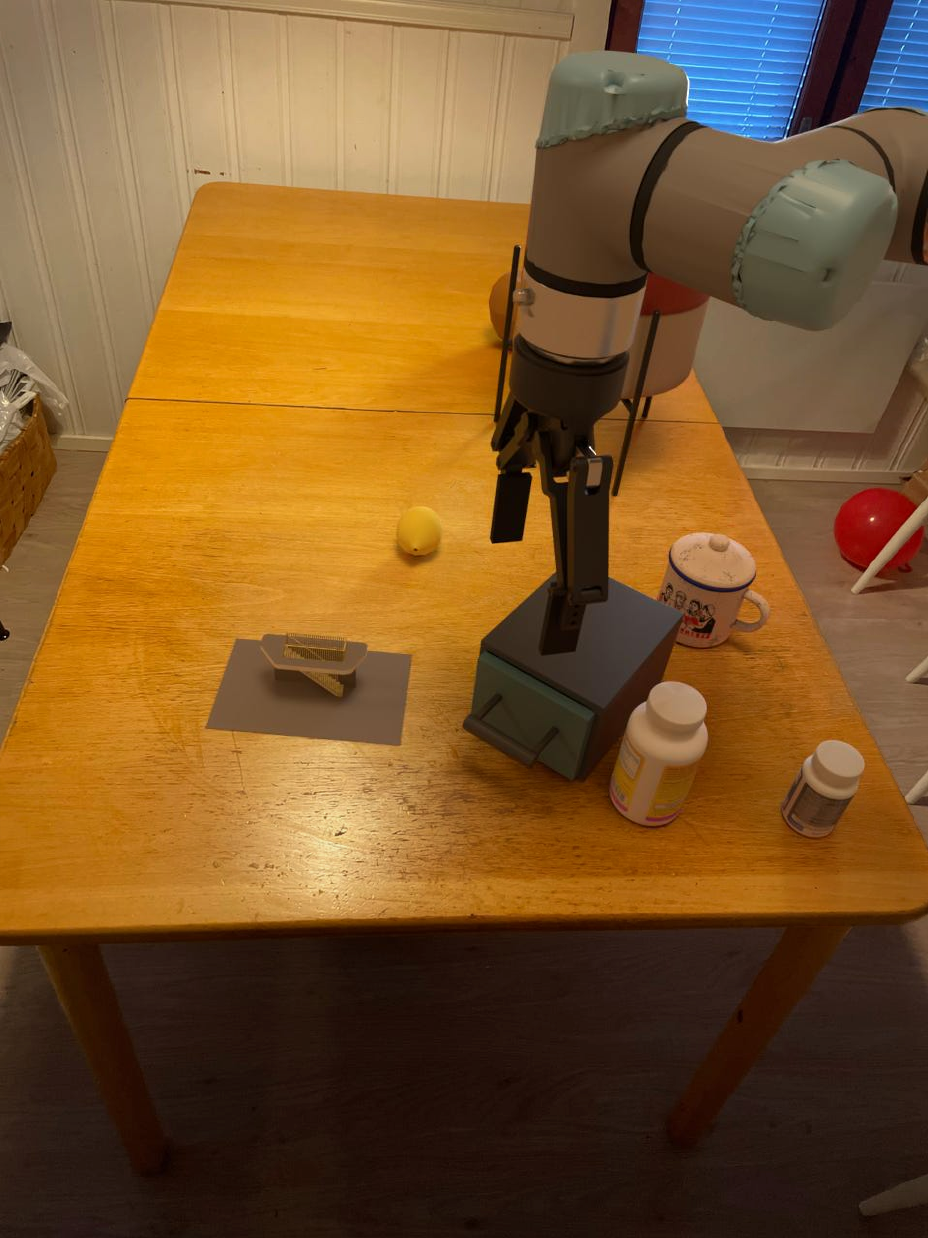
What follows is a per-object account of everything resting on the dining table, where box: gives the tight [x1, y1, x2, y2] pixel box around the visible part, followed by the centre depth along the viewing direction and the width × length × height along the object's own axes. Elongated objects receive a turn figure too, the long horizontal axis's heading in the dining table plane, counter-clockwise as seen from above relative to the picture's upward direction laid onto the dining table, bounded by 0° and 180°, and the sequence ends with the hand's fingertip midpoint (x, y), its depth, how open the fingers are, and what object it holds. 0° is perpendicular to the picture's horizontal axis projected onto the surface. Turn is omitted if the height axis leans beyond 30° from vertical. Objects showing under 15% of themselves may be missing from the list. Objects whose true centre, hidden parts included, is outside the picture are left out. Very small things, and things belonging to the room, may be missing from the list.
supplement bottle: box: [608, 680, 709, 827], centre depth 75 cm, size 7×7×13 cm
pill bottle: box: [781, 739, 866, 838], centre depth 76 cm, size 5×5×8 cm
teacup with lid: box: [656, 532, 771, 648], centre depth 93 cm, size 12×9×12 cm
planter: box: [493, 180, 711, 497], centre depth 112 cm, size 24×25×35 cm
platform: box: [204, 631, 413, 746], centre depth 83 cm, size 12×18×7 cm, turn 87°
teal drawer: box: [461, 651, 595, 782], centre depth 81 cm, size 20×11×8 cm, turn 144°
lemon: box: [395, 505, 444, 556], centre depth 101 cm, size 7×5×5 cm
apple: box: [488, 268, 523, 350], centre depth 142 cm, size 13×13×11 cm
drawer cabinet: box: [478, 571, 684, 783], centre depth 84 cm, size 16×13×10 cm
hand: (529, 591), depth 71 cm, fingers open, 13 cm apart
